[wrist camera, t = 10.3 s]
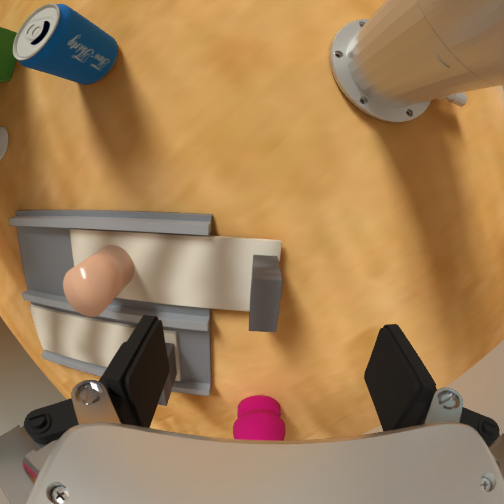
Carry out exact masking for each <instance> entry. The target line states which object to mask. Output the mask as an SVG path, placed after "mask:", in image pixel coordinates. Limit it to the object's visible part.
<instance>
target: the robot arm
mask: <svg viewBox="0 0 504 504" xmlns="http://www.w3.org/2000/svg"><path fill="white" fill-rule="evenodd" d="M335 55H337V56H338V57H339V58H338V57H336V56H335ZM329 59H330V66H331V70H332V73H333V76H334V79H335V81H336V82H337V84H338V86H339V88H340V89H341V91H342V92H343V93H344V95H345V96H346V97H347V98H348V99H349V100H350V101H351V102H352V103H353V104H354V105H355V106H356V107H357V108H359V109H360V110H361V111H363V112H364V113H366V114H368V115H370V116H371V117H373V118H376V119H379V120H382V121H386V122H393V123H395V122H405V121H410V120H412V119H415V118H417V117H419V116H420V115H421V114H423V113H424V112H425V110H426V109H427V108H428V107H429V105H430V102H431V100H433V99H438V100H443V99H446V100H448V101H449V102H451V103H454V104H456V105H458V106H460V107H461V106H464V105H465V103H466V99H467V97H466V94H465V93H464V92H467V91H472V90H477V89H482V88H488V87H493V86H499V85H503V84H504V0H387V1H386V2H385V3H384V4H383V5H382V6H381V7H380V8H379V9H378V10H377V11H376V12H375V14H374V15H373V16H372V17H371V18H370V19H361V20H356V21H353V22H350V23H348V24H347V25H345V26H344V27H342V28H341V29H340V31H339V32H338V33H337V34H336V36H335V37H334V39H333V41H332V44H331V47H330V55H329ZM360 100H362V101H363V104H362V103H361V102H360ZM406 112H407V113H406ZM168 375H169V362H168V356H167V350H166V344H165V338H164V331H163V324H162V321H161V320H158V317H157V316H151V315H143V317H142V318H141V320H140V321H139V323H138V324H137V326H136V328H135V329H134V331H133V332H132V334H131V335H130V337H129V339H128V340H127V342H123V343H122V345H121V346H120V348H119V349H118V351H117V352H116V354H115V356H114V357H113V359H112V360H111V362H110V364H109V365H108V367H107V369H106V370H105V372H104V373H103V375H102V377H101V378H100V380H99V381H96V380H85V381H82V382H80V383H78V384H77V385H76V386H75V387H74V388H73V390H72V393H71V399H68V400H65V401H62V402H59V403H56V404H53V405H50V406H46V407H43V408H40V409H36V410H34V411H32V412H30V413H29V414H28V415H27V417H26V418H25V421H24V426H23V427H20V426H19V425H18V426H16V427H15V428H13V429H12V430H10V431H8V432H7V433H5V434H4V435H2V436H0V487H1V489H2V491H3V492H4V494H5V496H6V497H7V499H8V501H9V502H10V504H504V434H502V435H499V427H498V425H497V423H496V422H495V421H494V420H492V419H491V418H488V417H486V416H483V415H481V414H478V413H476V412H473V411H471V410H468V409H466V408H464V407H463V399H462V397H461V395H460V394H459V393H458V392H457V391H455V390H453V389H451V388H440V389H438V390H437V389H436V387H435V386H436V383H435V382H434V380H433V378H432V377H431V375H430V374H429V372H428V370H427V369H426V367H425V366H424V364H423V362H422V361H421V359H420V358H419V356H418V354H417V353H416V351H415V350H414V348H413V347H412V345H411V344H410V342H409V341H408V339H407V338H406V336H405V335H404V333H403V332H402V330H401V329H400V327H399V326H398V325H397V324H390V325H384V327H383V328H381V329H380V331H379V334H378V337H377V340H376V343H375V346H374V349H373V351H372V354H371V357H370V360H369V363H368V365H367V368H366V371H365V375H364V378H365V382H366V384H367V387H368V390H369V392H370V395H371V398H372V400H373V403H374V406H375V409H376V411H377V414H378V417H379V420H380V423H381V425H382V428H383V431H384V432H378V433H372V434H365V435H358V436H350V437H340V438H329V439H315V440H288V441H267V440H240V439H225V438H214V437H205V436H197V435H189V434H182V433H175V432H168V431H162V430H157V429H151V428H149V427H150V424H151V422H152V419H153V416H154V413H155V410H156V407H157V405H158V402H159V399H160V396H161V394H162V391H163V388H164V385H165V383H166V380H167V377H168Z"/></svg>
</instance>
